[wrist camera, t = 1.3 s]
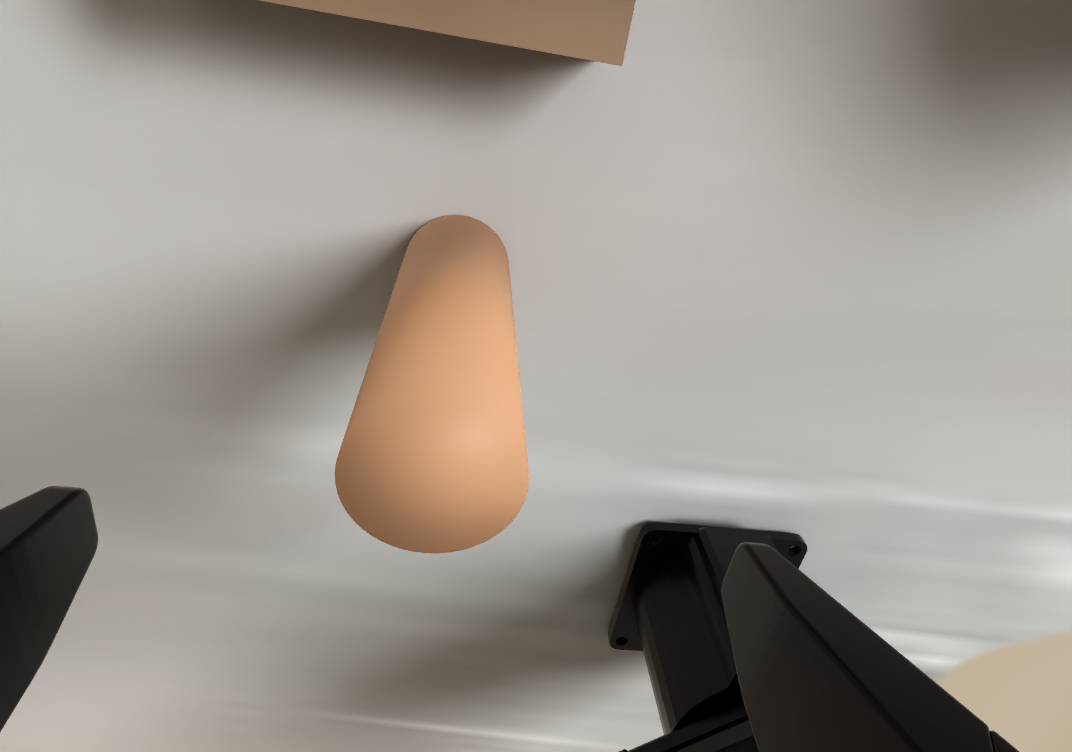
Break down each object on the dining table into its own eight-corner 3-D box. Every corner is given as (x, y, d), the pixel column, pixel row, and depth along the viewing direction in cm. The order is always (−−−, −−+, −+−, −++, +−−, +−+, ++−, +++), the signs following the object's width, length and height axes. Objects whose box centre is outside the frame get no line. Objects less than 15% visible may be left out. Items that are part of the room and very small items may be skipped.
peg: (501, 319, 20) (514, 559, 11) (401, 307, 19) (333, 546, 11) (515, 223, 18) (543, 410, 10) (408, 208, 18) (336, 390, 9)
